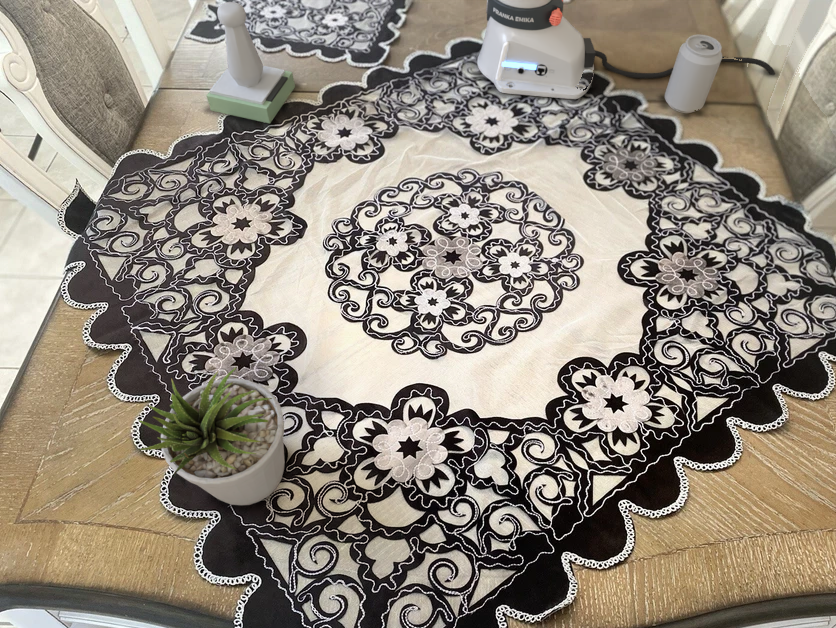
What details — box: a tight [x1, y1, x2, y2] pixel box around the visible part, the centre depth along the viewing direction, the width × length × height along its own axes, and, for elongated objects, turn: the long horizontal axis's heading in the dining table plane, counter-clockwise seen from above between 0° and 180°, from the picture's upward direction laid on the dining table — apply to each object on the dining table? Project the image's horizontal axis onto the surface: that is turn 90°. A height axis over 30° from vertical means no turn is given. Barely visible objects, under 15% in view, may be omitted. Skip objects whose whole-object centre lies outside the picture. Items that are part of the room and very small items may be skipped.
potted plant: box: [138, 366, 286, 506], centre depth 73 cm, size 13×14×20 cm
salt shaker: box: [216, 1, 264, 88], centre depth 111 cm, size 6×6×13 cm
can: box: [664, 34, 723, 114], centre depth 122 cm, size 8×8×12 cm
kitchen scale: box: [206, 65, 296, 124], centre depth 118 cm, size 11×11×4 cm
